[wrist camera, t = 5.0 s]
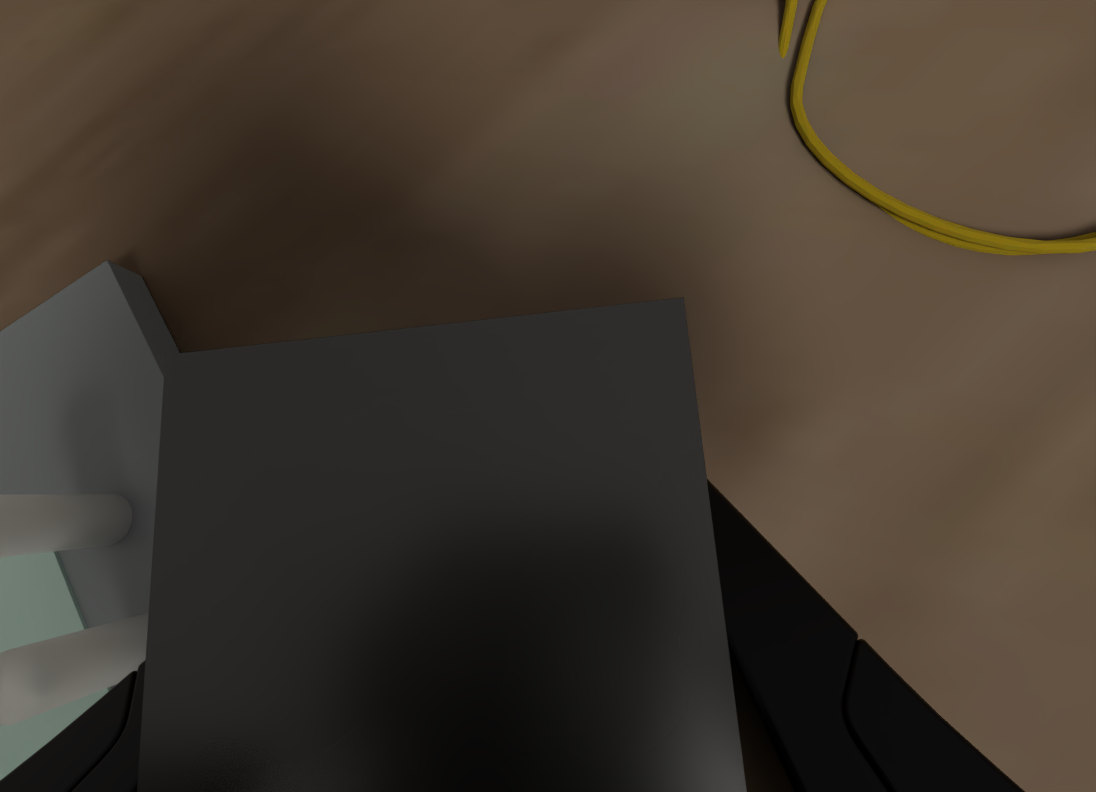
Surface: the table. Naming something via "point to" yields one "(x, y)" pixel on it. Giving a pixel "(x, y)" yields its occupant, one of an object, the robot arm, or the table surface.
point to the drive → (439, 564)
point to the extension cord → (889, 204)
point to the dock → (76, 500)
